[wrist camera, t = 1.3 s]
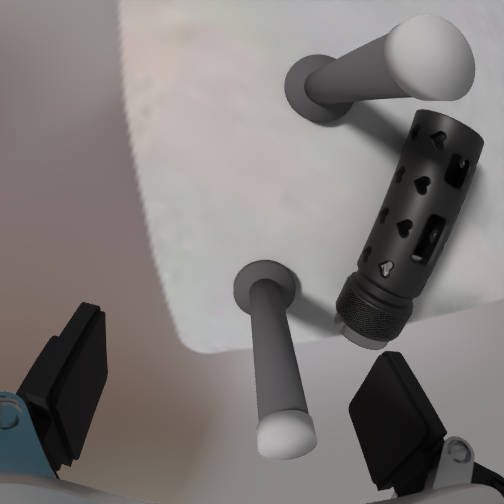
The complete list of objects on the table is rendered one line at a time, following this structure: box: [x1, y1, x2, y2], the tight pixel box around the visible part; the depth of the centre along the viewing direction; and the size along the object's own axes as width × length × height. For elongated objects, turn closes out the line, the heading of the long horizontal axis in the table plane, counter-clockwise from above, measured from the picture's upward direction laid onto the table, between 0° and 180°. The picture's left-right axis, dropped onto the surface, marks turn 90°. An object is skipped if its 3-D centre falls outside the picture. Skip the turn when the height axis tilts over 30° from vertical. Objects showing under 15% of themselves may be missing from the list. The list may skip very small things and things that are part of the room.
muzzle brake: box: [334, 109, 484, 350], centre depth 35 cm, size 10×28×10 cm, turn 162°
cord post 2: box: [285, 14, 475, 122], centre depth 22 cm, size 8×8×24 cm
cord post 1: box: [234, 260, 317, 460], centre depth 32 cm, size 8×8×24 cm
